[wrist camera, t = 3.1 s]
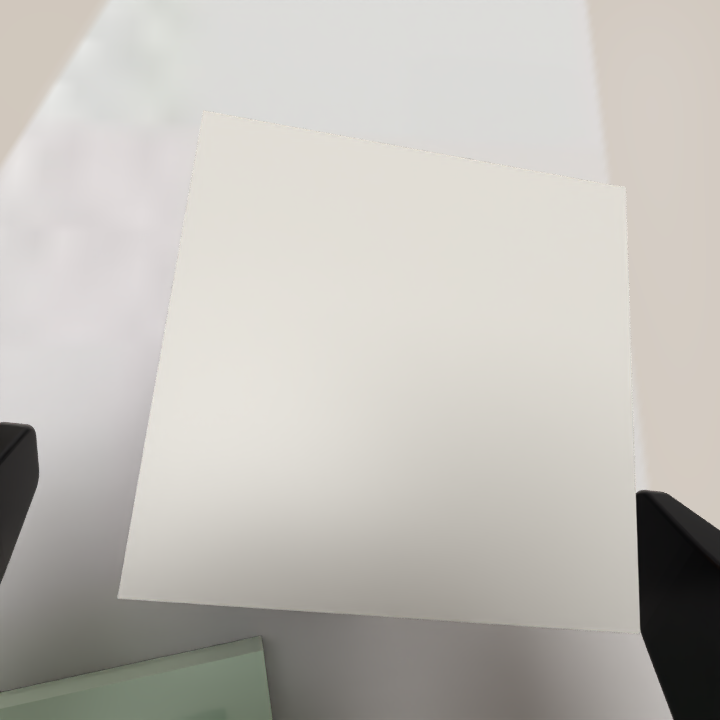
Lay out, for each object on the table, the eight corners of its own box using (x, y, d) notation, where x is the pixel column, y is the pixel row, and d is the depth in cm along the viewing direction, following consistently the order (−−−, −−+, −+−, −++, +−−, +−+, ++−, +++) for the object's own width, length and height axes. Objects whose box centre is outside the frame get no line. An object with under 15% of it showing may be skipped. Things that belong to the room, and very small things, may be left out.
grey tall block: (385, 564, 18) (644, 640, 6) (201, 549, 17) (111, 604, 5) (398, 388, 19) (628, 184, 8) (227, 367, 18) (200, 106, 7)
